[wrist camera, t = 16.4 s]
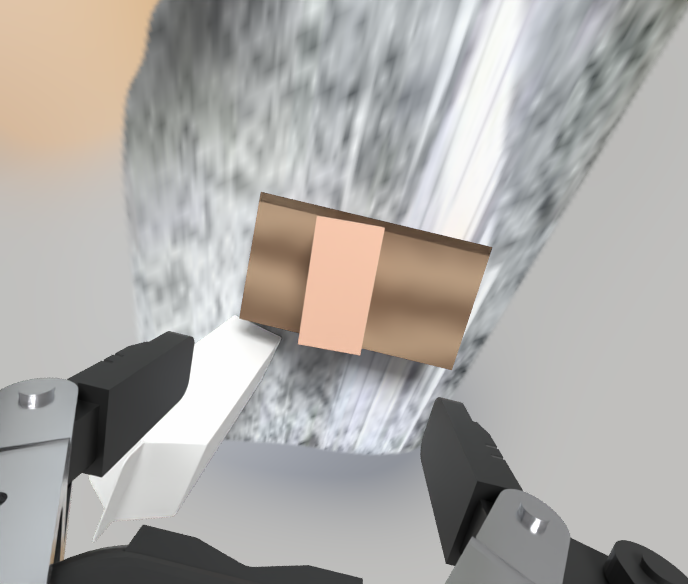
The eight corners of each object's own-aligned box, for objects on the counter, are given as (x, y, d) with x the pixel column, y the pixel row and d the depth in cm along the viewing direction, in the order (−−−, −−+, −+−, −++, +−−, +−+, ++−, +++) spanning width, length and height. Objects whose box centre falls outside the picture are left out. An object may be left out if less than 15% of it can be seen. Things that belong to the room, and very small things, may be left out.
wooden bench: (278, 196, 35) (260, 191, 29) (469, 242, 35) (492, 247, 29) (259, 302, 38) (239, 318, 31) (437, 345, 37) (451, 370, 31)
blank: (324, 216, 29) (316, 216, 24) (381, 226, 29) (384, 228, 24) (307, 324, 31) (297, 344, 26) (360, 334, 31) (360, 355, 26)
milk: (216, 357, 39) (36, 522, 18) (235, 313, 38) (65, 434, 17) (263, 379, 40) (140, 570, 18) (283, 336, 38) (177, 486, 17)
